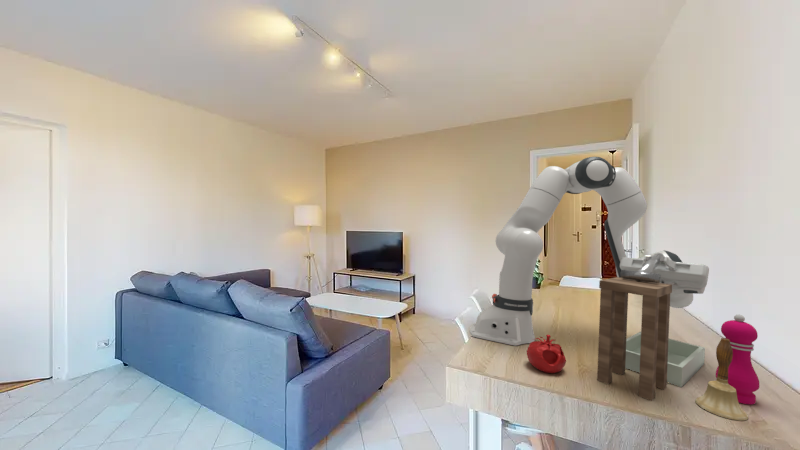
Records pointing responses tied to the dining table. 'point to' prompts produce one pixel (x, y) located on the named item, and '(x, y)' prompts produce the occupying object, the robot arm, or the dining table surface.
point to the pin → (645, 271)
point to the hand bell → (722, 388)
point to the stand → (651, 332)
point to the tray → (669, 359)
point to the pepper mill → (741, 359)
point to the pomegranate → (546, 355)
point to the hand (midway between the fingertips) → (655, 258)
